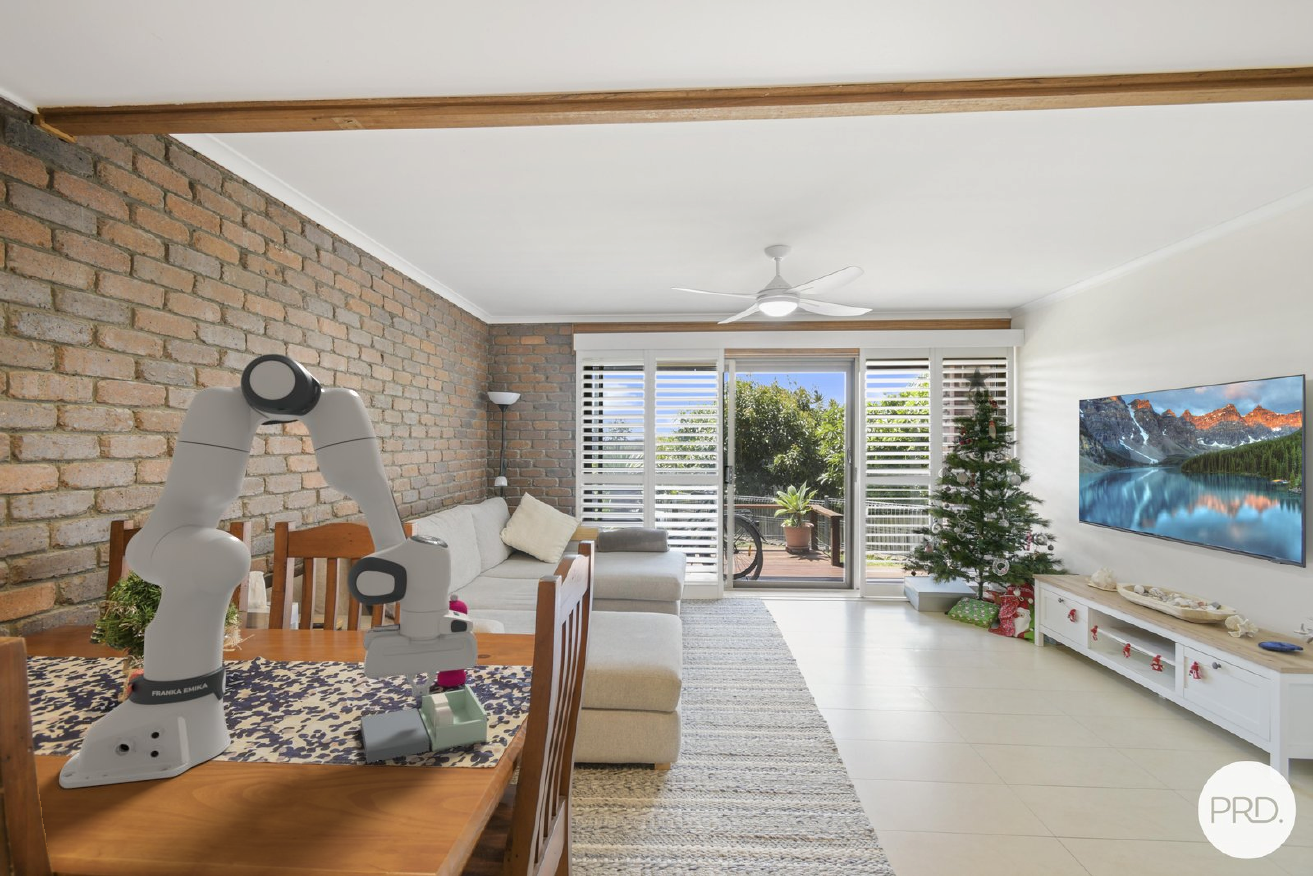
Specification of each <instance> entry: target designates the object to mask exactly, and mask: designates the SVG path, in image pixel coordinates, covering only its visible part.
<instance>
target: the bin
mask: <svg viewBox="0 0 1313 876" xmlns="http://www.w3.org/2000/svg"><path fill="white" fill-rule="evenodd" d="M443 693H444V694H445V696H446V698H447V700H448V706H449V707H450V709H451V711H452V713H453V715H454V724H452V725H446V726H441V727H436V735H435V728H434V726H433V724H432V722H431V719H430V704H431V695H436V694H443ZM418 713H419V715H420V718H421V720H422V723H423V725H424V728H425V730H426V733H427V735H428V738H429V748H430V749H431V752H432V753H434V752H439V751H444V750H449V748H450V749H454V748H453V747H455V748H459V747H458V746H460V747H465V746H469V745H470V744H471V745H475V744H474V743H476V744H479V743H478V742H481V743H485V742H488V741H487V734H488V733H487V732H488V713H487V712H486V710H485V708H484V707H483V705H482V703H481V702H480V701H479V699H478V697H477V696H476V695H475V692H474V691H473V689H472V688H471V687H470V684H468V683H464V689H458V690H457V689H456V690H453V691H452V690H451V691H445V692H439V693H432V694H429V696H421V708H418ZM471 745H470V746H471Z"/></svg>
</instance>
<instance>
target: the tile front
mask: <svg viewBox="0 0 1313 876" xmlns="http://www.w3.org/2000/svg"><path fill="white" fill-rule="evenodd" d="M452 724H454V715H453V713H452V711H451V709H450V707H449V706H446V707H440V708H435V735H436V727H441V726H446V725H452Z"/></svg>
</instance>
